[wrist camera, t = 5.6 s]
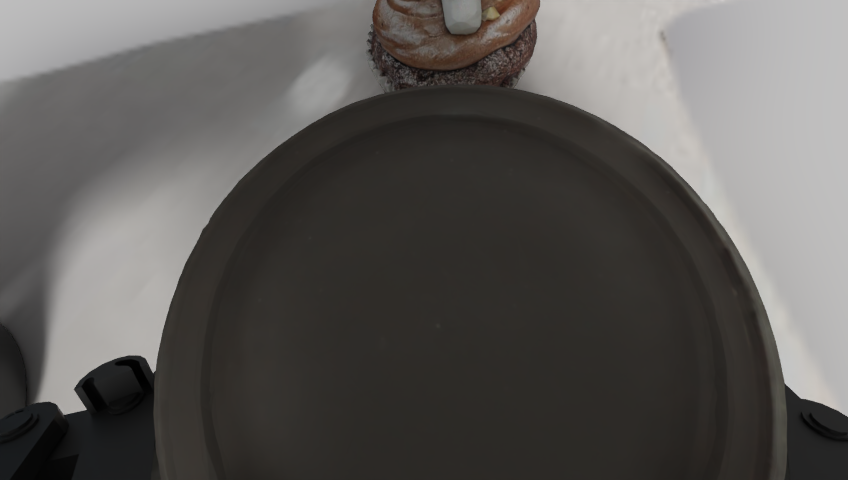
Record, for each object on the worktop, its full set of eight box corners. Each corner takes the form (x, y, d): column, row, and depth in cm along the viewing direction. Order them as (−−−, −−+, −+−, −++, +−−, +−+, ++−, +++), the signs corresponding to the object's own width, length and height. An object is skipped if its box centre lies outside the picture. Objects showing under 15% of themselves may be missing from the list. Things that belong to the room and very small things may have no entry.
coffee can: (420, 506, 17) (312, 1036, 4) (325, 322, 20) (82, 243, 7) (589, 383, 18) (971, 441, 5) (474, 228, 21) (513, 7, 8)
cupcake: (431, 26, 27) (421, -154, 18) (544, 79, 25) (603, -97, 15) (353, 114, 25) (294, -38, 15) (470, 181, 22) (483, 50, 13)
